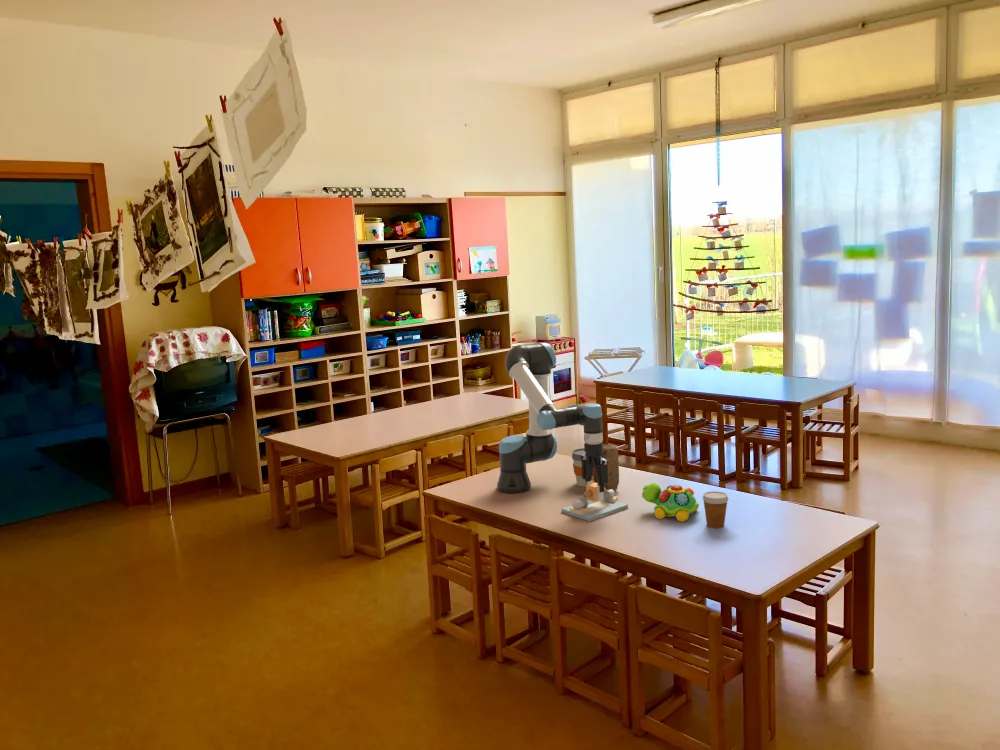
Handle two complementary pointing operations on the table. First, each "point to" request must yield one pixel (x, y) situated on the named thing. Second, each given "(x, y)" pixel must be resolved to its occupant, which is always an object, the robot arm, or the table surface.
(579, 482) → the reusable coffee cup
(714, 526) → the disposable coffee cup
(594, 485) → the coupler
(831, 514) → the table surface
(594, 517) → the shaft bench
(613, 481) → the block
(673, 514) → the turtle toy
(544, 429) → the robot arm
